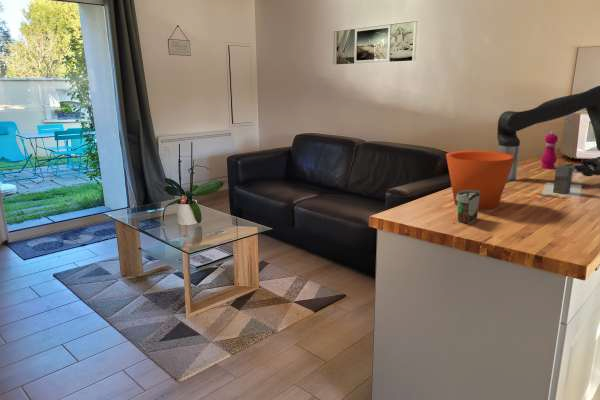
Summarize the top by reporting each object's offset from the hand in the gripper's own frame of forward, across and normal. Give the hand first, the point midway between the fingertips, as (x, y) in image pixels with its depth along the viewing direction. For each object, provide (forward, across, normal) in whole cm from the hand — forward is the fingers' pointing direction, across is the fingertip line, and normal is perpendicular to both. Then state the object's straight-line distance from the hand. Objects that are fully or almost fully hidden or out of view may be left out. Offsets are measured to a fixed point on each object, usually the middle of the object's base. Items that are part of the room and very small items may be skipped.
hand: (575, 171), depth 189 cm
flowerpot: (+49, -15, +9) cm, 52 cm away
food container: (+70, -5, +9) cm, 71 cm away
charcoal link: (+11, 0, +8) cm, 13 cm away
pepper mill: (-44, -33, +9) cm, 56 cm away
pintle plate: (+4, -3, +9) cm, 10 cm away
